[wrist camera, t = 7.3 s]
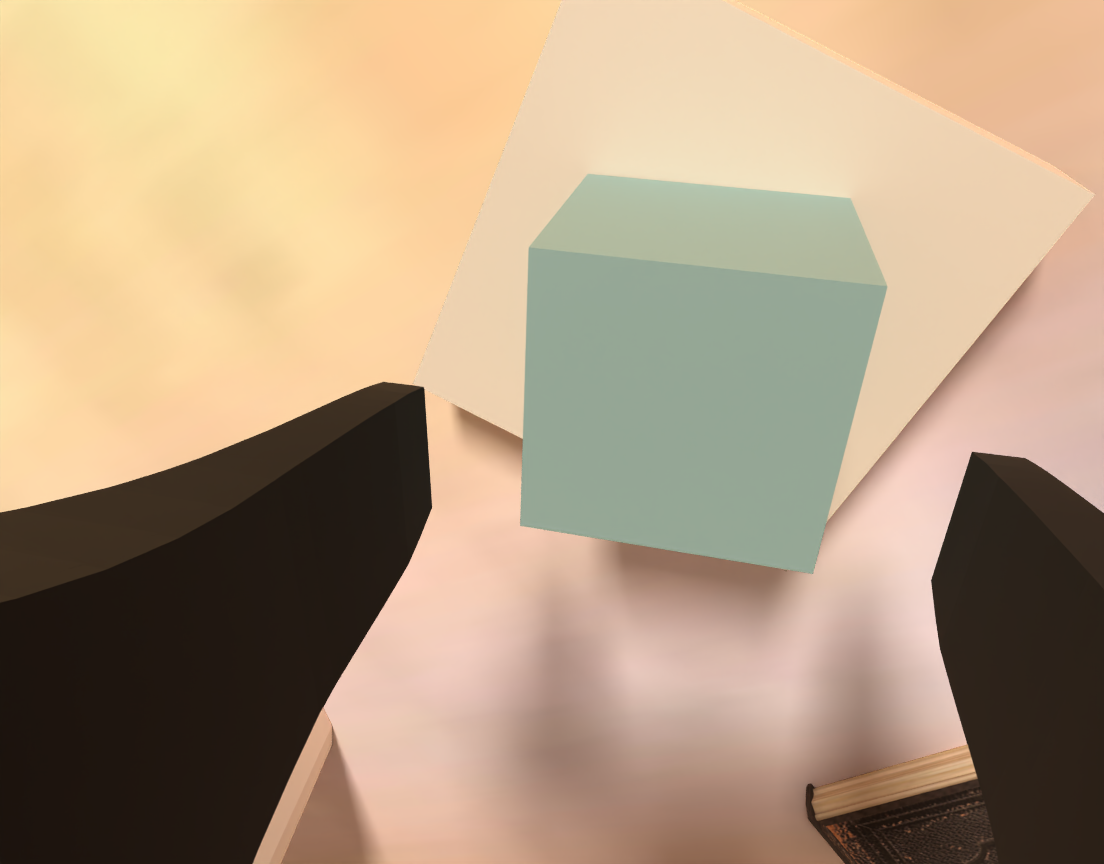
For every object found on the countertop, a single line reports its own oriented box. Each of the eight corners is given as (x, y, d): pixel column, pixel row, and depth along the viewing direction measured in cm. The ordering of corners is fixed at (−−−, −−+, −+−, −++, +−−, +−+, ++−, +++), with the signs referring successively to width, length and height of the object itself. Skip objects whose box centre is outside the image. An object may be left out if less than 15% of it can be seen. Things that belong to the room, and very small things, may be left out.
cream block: (1045, 160, 17) (1095, 194, 14) (783, 502, 22) (786, 571, 20) (615, -64, 17) (588, -70, 14) (453, 335, 22) (412, 383, 19)
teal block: (850, 198, 15) (887, 286, 11) (798, 429, 18) (812, 573, 14) (587, 173, 16) (528, 246, 12) (573, 398, 19) (520, 525, 14)
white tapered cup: (232, 616, 29) (93, 786, 23) (383, 732, 30) (289, 922, 24) (151, 699, 32) (12, 866, 26) (290, 800, 33) (188, 981, 27)
